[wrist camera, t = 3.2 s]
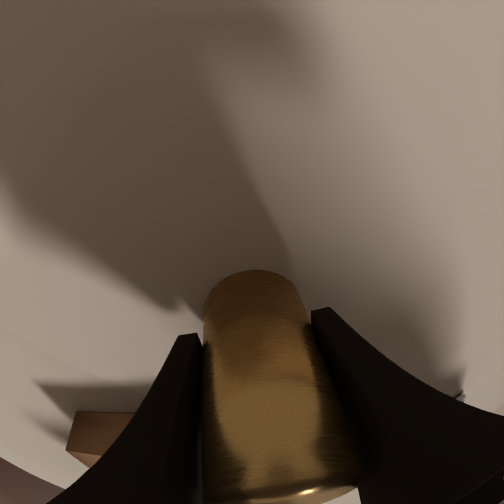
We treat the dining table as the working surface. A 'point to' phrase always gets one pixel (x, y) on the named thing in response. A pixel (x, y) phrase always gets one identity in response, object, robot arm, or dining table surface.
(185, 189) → the dining table surface
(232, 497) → the peg
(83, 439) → the socket block
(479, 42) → the dining table surface
